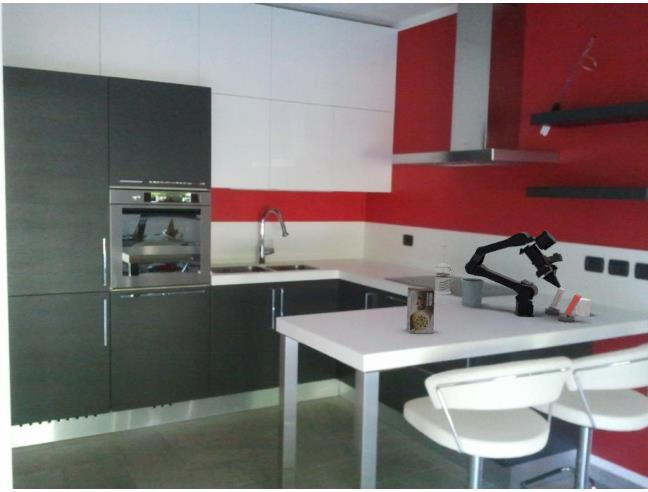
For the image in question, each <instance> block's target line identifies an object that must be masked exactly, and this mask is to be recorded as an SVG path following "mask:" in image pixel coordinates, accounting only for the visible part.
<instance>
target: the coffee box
mask: <svg viewBox="0 0 648 492" xmlns="http://www.w3.org/2000/svg"><path fill="white" fill-rule="evenodd" d="M434 290H435V289H433V287H418V286H415V287H413V286H412V287H409V286H408V287H407V300H406V301H407V303H406V304H407V305H406V306H407V307H406V331H407V332H408V334H434V320H435V318H434V317H435V293H434V292H435V291H434Z"/></svg>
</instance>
